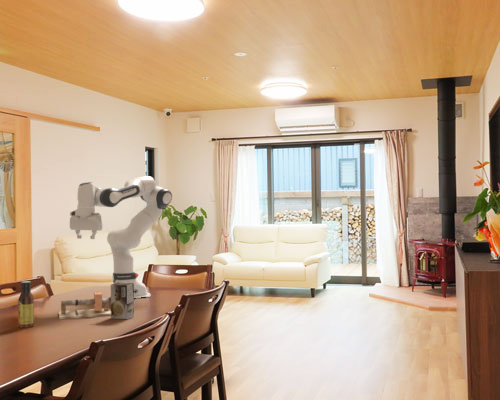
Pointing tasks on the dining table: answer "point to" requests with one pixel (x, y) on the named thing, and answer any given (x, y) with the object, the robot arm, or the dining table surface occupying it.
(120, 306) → the coffee box
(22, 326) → the sauce bottle
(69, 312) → the pipe stand
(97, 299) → the bridge block
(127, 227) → the robot arm
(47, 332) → the dining table surface
